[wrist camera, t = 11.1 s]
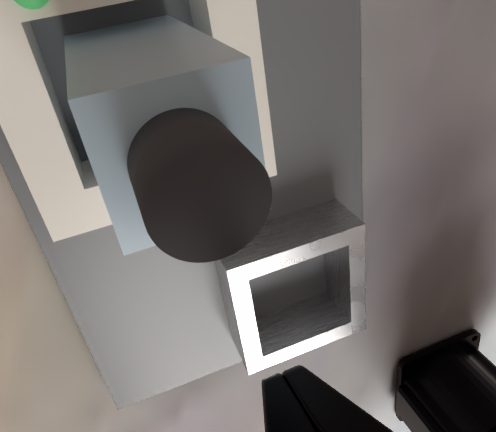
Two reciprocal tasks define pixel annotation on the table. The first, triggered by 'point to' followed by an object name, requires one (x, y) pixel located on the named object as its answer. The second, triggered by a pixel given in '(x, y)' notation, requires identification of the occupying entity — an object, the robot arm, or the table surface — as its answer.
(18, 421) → the table surface
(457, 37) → the table surface
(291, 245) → the hollow square tube
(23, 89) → the port block
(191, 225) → the plug
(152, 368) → the panel board
